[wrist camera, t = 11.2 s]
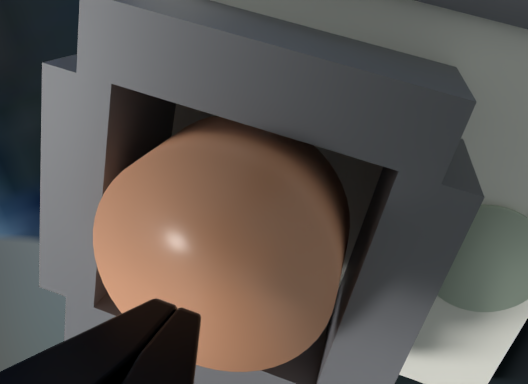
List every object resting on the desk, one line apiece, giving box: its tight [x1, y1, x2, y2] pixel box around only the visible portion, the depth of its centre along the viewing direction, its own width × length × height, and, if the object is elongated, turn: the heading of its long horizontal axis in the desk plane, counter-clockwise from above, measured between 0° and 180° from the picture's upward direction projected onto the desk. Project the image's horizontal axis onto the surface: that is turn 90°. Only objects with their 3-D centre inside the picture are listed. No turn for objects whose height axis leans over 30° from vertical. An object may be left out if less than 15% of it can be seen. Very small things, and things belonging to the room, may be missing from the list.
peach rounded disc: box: [93, 116, 350, 372], centre depth 11 cm, size 5×5×2 cm
